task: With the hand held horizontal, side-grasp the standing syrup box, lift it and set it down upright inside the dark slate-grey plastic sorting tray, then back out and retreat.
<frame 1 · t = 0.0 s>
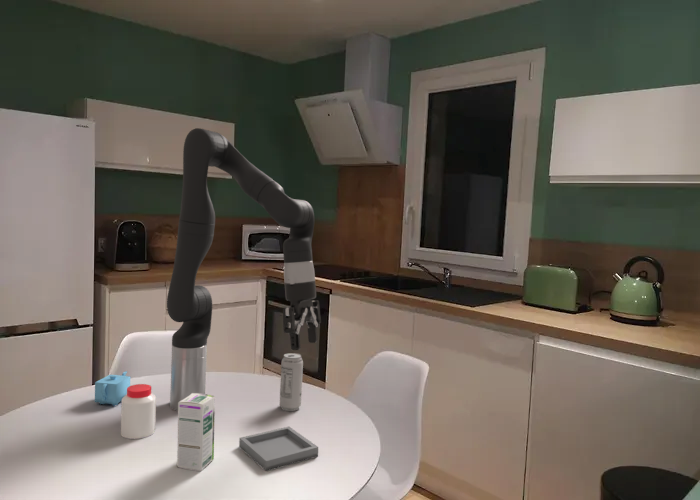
hand: (304, 346, 128), 22 cm above the table, tool pointing down, fingers open, 8 cm apart
energy drink can: (290, 408, 147), on the table
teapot: (114, 401, 145), on the table
pill bottle: (138, 432, 126), on the table
tray: (278, 451, 120), on the table
syrup box: (195, 464, 112), on the table
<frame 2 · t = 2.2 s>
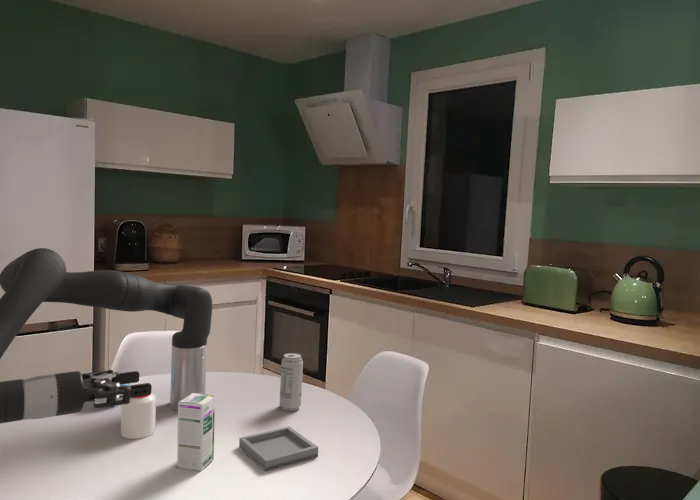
hand: (144, 382, 104), 20 cm above the table, tool horizontal, fingers open, 8 cm apart
nothing on the table moved.
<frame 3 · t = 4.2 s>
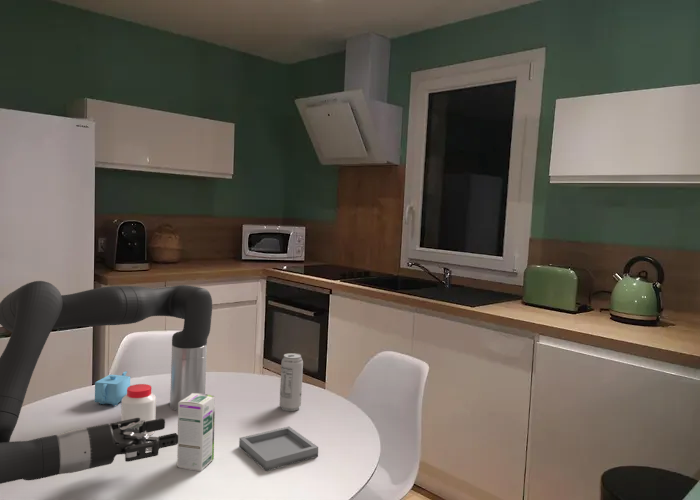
hand: (170, 430, 109), 8 cm above the table, tool horizontal, fingers open, 8 cm apart
nothing on the table moved.
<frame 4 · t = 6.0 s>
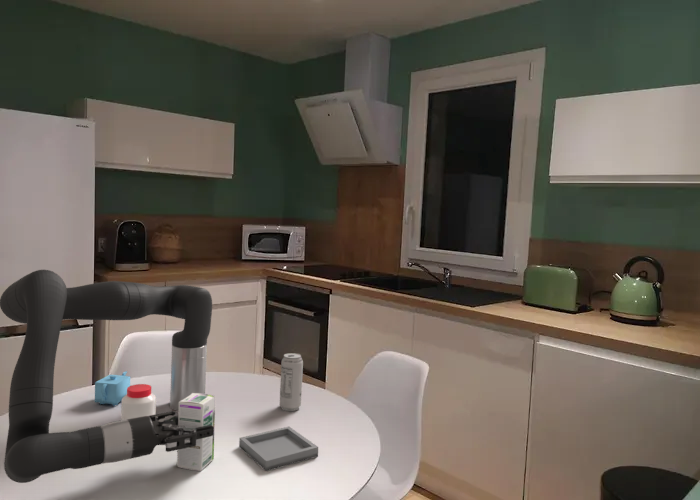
hand: (205, 423, 113), 9 cm above the table, tool horizontal, fingers closed on syrup box, 8 cm apart
syrup box: (195, 464, 112), on the table, touching gripper
everything else where it was.
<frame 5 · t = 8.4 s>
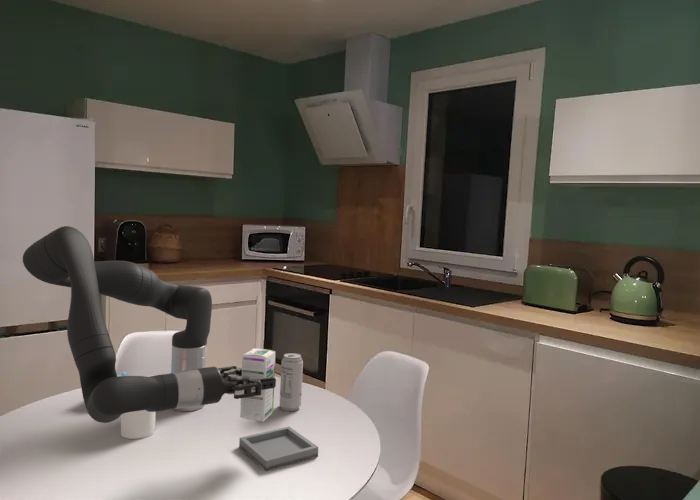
hand: (266, 376, 118), 18 cm above the table, tool horizontal, fingers closed on syrup box, 8 cm apart
syrup box: (256, 416, 117), point 9 cm above the table, touching gripper
everything else where it was.
when the fingers open (10 cm above the table, at t = 10.9 s): syrup box stays where it is, resting on tray.
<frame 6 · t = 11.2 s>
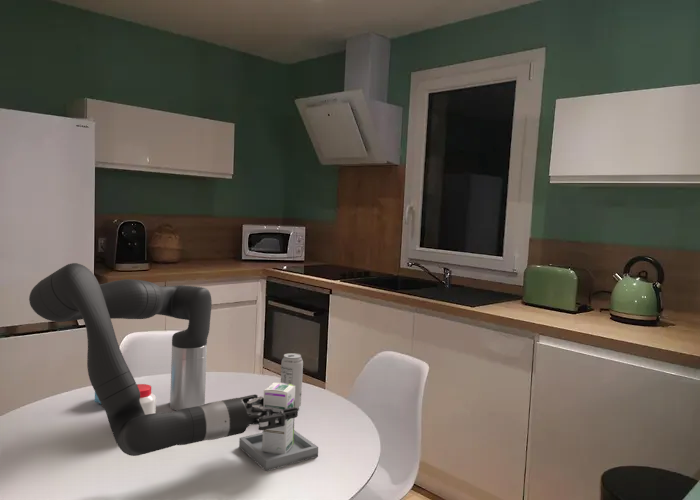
hand: (287, 405, 120), 10 cm above the table, tool horizontal, fingers open, 8 cm apart
syrup box: (277, 449, 120), point 1 cm above the table, touching tray
everything else where it was.
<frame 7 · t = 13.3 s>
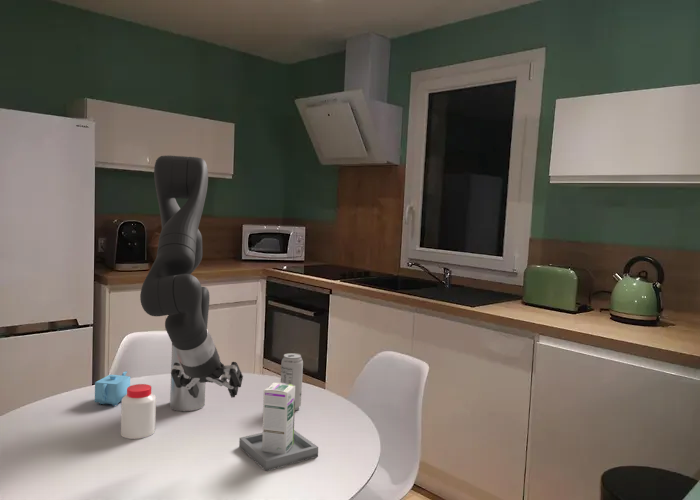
hand: (215, 394, 117), 14 cm above the table, tool tilted 40°, fingers open, 8 cm apart
nothing on the table moved.
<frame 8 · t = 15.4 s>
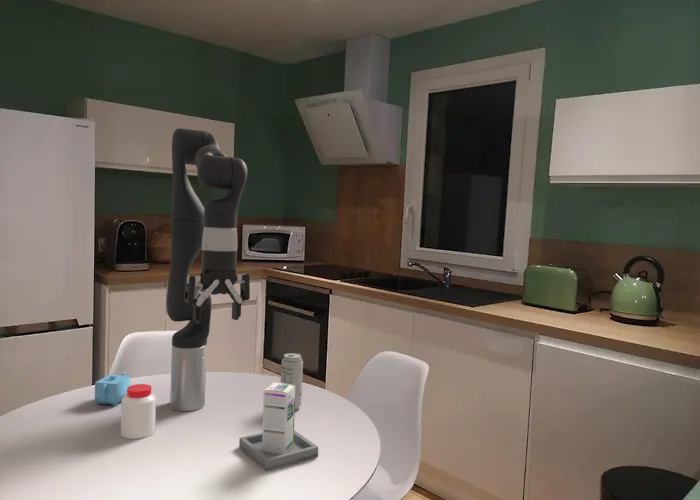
hand: (217, 321, 116), 30 cm above the table, tool pointing down, fingers open, 8 cm apart
nothing on the table moved.
at the end: syrup box inside the target area on the tray (0.2 cm from its centre), point 0.6 cm above the tray's base; syrup box tilted 0°; the gripper is holding nothing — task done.
